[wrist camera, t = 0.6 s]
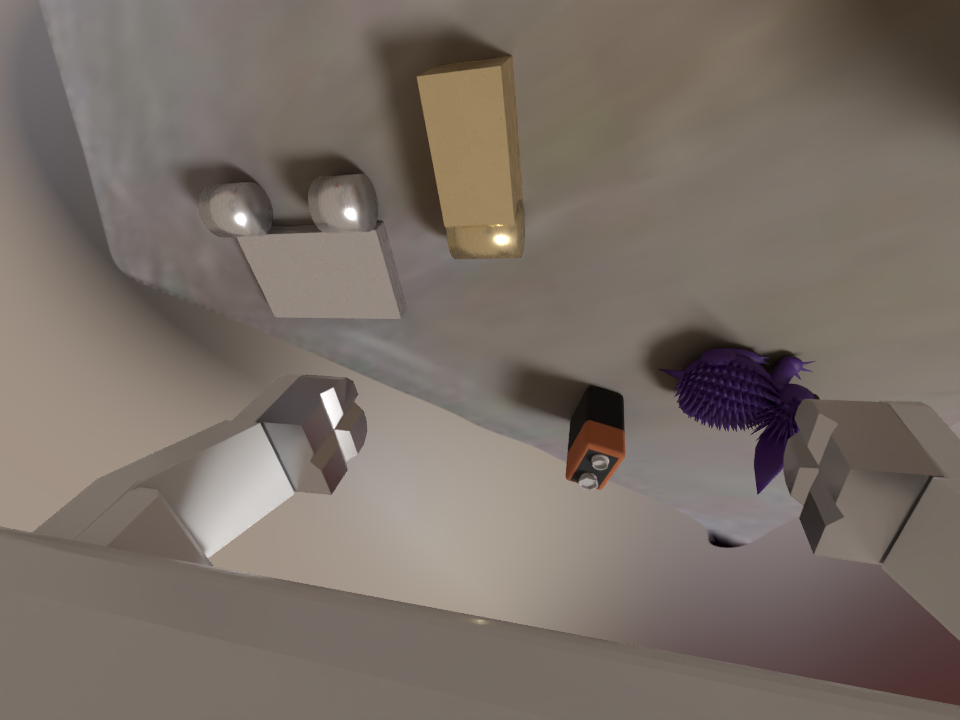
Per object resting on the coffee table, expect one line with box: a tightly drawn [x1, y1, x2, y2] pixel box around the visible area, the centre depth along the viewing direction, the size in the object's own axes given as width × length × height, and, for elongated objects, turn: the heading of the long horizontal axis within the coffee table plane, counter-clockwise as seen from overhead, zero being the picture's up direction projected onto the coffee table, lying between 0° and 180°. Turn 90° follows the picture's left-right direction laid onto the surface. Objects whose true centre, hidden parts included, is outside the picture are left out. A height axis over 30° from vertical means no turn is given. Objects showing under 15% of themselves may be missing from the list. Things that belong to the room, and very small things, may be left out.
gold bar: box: [417, 56, 525, 259], centre depth 38 cm, size 6×15×5 cm, turn 7°
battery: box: [566, 386, 625, 491], centre depth 51 cm, size 4×7×10 cm, turn 168°
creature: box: [659, 348, 820, 494], centre depth 43 cm, size 9×18×12 cm, turn 85°
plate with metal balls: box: [198, 174, 407, 319], centre depth 47 cm, size 16×16×5 cm
